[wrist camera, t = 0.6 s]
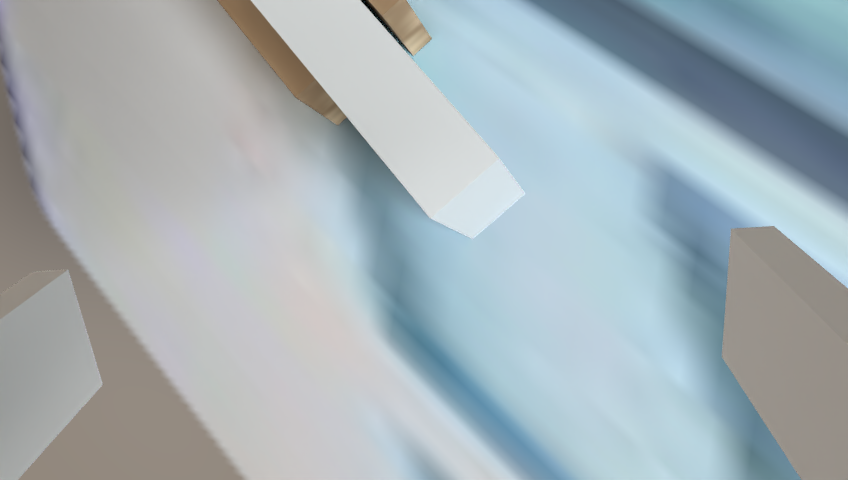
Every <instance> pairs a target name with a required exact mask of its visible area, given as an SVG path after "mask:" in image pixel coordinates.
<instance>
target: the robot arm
mask: <svg viewBox="0 0 848 480" xmlns="http://www.w3.org/2000/svg"><path fill="white" fill-rule="evenodd" d="M722 358H723V359H724V361H725V362H726V364H727V365H728V367H729V368H730V370H731V372H732V373H733V375H734V376H735V378H736V379H737V381H738V382H739V384H740V385H741V387H742V389H743V390H744V392H745V393H746V395H747V396H748V398H749V399H750V401H751V402H752V404H753V405H754V407H755V409H756V410H757V412H758V413H759V415H760V416H761V418H762V419H763V421H764V422H765V424H766V426H767V427H768V429H769V430H770V432H771V433H772V435H773V436H774V438H775V439H776V441H777V443H778V444H779V446H780V447H781V449H782V450H783V452H784V453H785V455H786V456H787V458H788V459H789V461H790V463H791V464H792V466H793V467H794V469H795V470H796V472H797V473H798V475H799V476H800V478H801V480H848V288H846V287H845V286H844V285H843V284H842V283H841V282H839V281H838V280H837V279H836V278H835V277H833V276H832V275H831V274H830V273H829V272H827V271H826V270H825V269H824V268H823V267H822V266H820V265H819V264H818V263H817V262H816V261H814V260H813V259H812V258H811V257H810V256H809V255H807V254H806V253H805V252H804V251H803V250H801V249H800V248H799V247H798V246H797V245H795V244H794V243H793V242H792V241H791V240H790V239H788V238H787V237H786V236H785V235H784V234H782V233H781V232H780V231H779V230H778V229H777V228H775V227H774V226H768V227H752V228H736V229H731V238H730V252H729V266H728V280H727V294H726V308H725V322H724V335H723V349H722ZM101 386H102V380H101V377H100V374H99V370H98V367H97V364H96V360H95V357H94V354H93V350H92V347H91V344H90V341H89V337H88V334H87V330H86V327H85V324H84V320H83V317H82V314H81V311H80V308H79V304H78V301H77V297H76V294H75V291H74V287H73V284H72V281H71V277H70V274H69V271H68V270H51V271H35V272H32V273H30V274H29V275H27V276H26V277H24V278H23V279H22V280H20V281H19V282H17V283H16V284H15V285H13V286H11V287H10V288H8V289H7V290H5V291H4V292H2V293H1V294H0V480H18V479H19V478H20V477H21V475H22V474H23V473H24V472H25V471H26V470H27V469H28V468H29V466H30V465H31V464H32V463H33V462H34V461H35V460H36V459H37V457H38V456H39V455H40V454H41V453H42V452H43V451H44V450H45V449H46V447H47V446H48V445H49V444H50V443H51V442H52V441H53V440H54V438H55V437H56V436H57V435H58V434H59V433H60V432H61V431H62V430H63V428H64V427H65V426H66V425H67V424H68V423H69V422H70V421H71V420H72V418H73V417H74V416H75V415H76V414H77V413H78V412H79V411H80V409H81V408H82V407H83V406H84V405H85V404H86V403H87V402H88V401H89V399H90V398H91V397H92V396H93V395H94V394H95V393H96V392H97V390H98V389H99V388H100V387H101Z"/></svg>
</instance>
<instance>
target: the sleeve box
mask: <svg viewBox="0 0 848 480" xmlns="http://www.w3.org/2000/svg"><path fill="white" fill-rule="evenodd" d="M217 1H218V2H219V3H220V4H221V6H222V7H223V8H224V9H225V11H226V12H227V13H228V14H229V16H230V17H231V18H232V19H233V20H234V22H235V23H236V24H237V25H238V27H239V28H240V29H241V30H242V32H243V33H244V34H245V35H246V37H247V38H248V39H249V40H250V42H251V43H252V44H253V45H254V46H255V48H256V49H257V50H258V51H259V53H260V54H261V55H262V56H263V58H264V59H265V60H266V61H267V63H268V64H269V65H270V66H271V67H272V69H273V70H274V71H275V72H276V74H277V75H278V76H279V77H280V79H281V80H282V81H283V82H284V84H285V85H286V86H287V87H288V89H289V90H290V91H291V92H292V93H293V95H294V96H295V97H296V98H297V99H299V100H300V101H302V102H303V103H305V104H306V105H308V106H309V107H311V108H312V109H314V110H315V111H317V112H318V113H320V114H321V115H323V116H324V117H326V118H327V119H329V120H330V121H332V122H333V123H335V124H336V125H339V124H340V123H341V122H342V121H343V120H345V119H346V118H347V117H346V115H345V114H344V113H343V112H342V111H341V109H340V108H339V107H338V106H337V104H336V103H335V102H334V101H333V100H332V98H331V97H330V96H329V95H328V94H327V92H326V91H325V90H324V89H323V87H322V86H321V85H320V84H319V83H318V81H317V80H316V79H315V78H314V77H313V75H312V74H311V73H310V72H309V70H308V69H307V68H306V67H305V66H304V64H303V63H302V62H301V61H300V60H299V58H298V57H297V56H296V55H295V53H294V52H293V51H292V50H291V49H290V47H289V46H288V45H287V44H286V43H285V41H284V40H283V39H282V38H281V36H280V35H279V34H278V33H277V32H276V30H275V29H274V28H273V27H272V26H271V24H270V23H269V22H268V21H267V19H266V18H265V17H264V16H263V15H262V13H261V12H260V11H259V10H258V9H257V7H256V6H255V5H254V4H253V2H252V1H251V0H217ZM365 2H366V3H367V4H368V5H369V6H370V7H371V8H372V9H373V11H374V12H375V13H376V14H377V15H378V16H379V17H380V19H381V20H382V21H383V22H384V23H385V24H386V25H387V26H388V28H389V29H390V30H391V31H392V32H393V33H394V34H395V36H396V37H397V38H398V39H399V40H400V41H401V42H402V43H403V45H404V46H405V47H406V48H407V49H408V50H409V51H410V53H411V54H412V55H413V56H414V55H415V54H416V53H417V52H418V51H419V50H420V49H421V48H422V47H424V46H425V45H426V44H427V43H428V42H429V41H430V40H431V39H432V38H431V37H430V35H429V34H428V32H427V31H426V29H425V28H424V26H423V25H422V23H421V22H420V20H419V19H418V17H417V16H416V14H415V13H414V11H413V10H412V8H411V7H410V5H409V4H408V2H407V1H406V0H365Z"/></svg>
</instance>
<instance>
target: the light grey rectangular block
mask: <svg viewBox="0 0 848 480" xmlns="http://www.w3.org/2000/svg"><path fill="white" fill-rule="evenodd" d="M251 1H252V2H253V4H254V5H255V6H256V7H257V9H258V10H259V11H260V12H261V13H262V15H263V16H264V17H265V18H266V19H267V21H268V22H269V23H270V24H271V26H272V27H273V28H274V29H275V30H276V32H277V33H278V34H279V35H280V36H281V38H282V39H283V40H284V41H285V43H286V44H287V45H288V46H289V47H290V49H291V50H292V51H293V52H294V53H295V55H296V56H297V57H298V58H299V60H300V61H301V62H302V63H303V64H304V66H305V67H306V68H307V69H308V70H309V72H310V73H311V74H312V75H313V77H314V78H315V79H316V80H317V81H318V83H319V84H320V85H321V86H322V87H323V89H324V90H325V91H326V92H327V94H328V95H329V96H330V97H331V98H332V100H333V101H334V102H335V103H336V104H337V106H338V107H339V108H340V109H341V111H342V112H343V113H344V114H345V115H346V117H347V118H348V119H349V120H350V121H351V123H352V124H353V125H354V126H355V128H356V129H357V130H358V131H359V132H360V134H361V135H362V136H363V137H364V138H365V140H366V141H367V142H368V143H369V145H370V146H371V147H372V148H373V149H374V151H375V152H376V153H377V154H378V155H379V157H380V158H381V159H382V160H383V162H384V163H385V164H386V165H387V166H388V168H389V169H390V170H391V171H392V172H393V174H394V175H395V176H396V177H397V179H398V180H399V181H400V182H401V183H402V185H403V186H404V187H405V188H406V189H407V191H408V192H409V193H410V194H411V196H412V197H413V198H414V199H415V200H416V202H417V203H418V204H419V205H420V206H421V208H422V209H423V210H424V211H425V213H426V214H427V215H428V216H429V217H430V219H432V220H434V221H437V222H439V223H441V224H443V225H445V226H447V227H449V228H451V229H453V230H455V231H457V232H459V233H461V234H463V235H465V236H467V237H469V238H471V239H473V238H475V237H476V236H477V235H478V234H479V233H480V232H482V231H483V230H484V229H485V228H486V227H487V226H489V225H490V224H491V223H492V222H493V221H494V220H496V219H497V218H498V217H499V216H500V215H501V214H503V213H504V212H505V211H506V210H507V209H508V208H510V207H511V206H512V205H513V204H514V203H515V202H517V201H518V200H519V199H520V198H521V197H522V196H524V195H525V192H524V191H523V190H522V188H521V187H520V186H519V184H518V183H517V181H516V180H515V179H514V177H513V176H512V175H511V173H510V172H509V171H508V169H507V168H506V167H505V165H504V164H503V163H502V161H501V160H500V158H499V157H498V156H497V155H496V154H495V153H494V152H493V150H492V149H491V148H490V147H489V146H488V145H487V144H486V143H485V141H484V140H483V139H482V138H481V137H480V136H479V135H478V133H477V132H476V131H475V130H474V129H473V128H472V127H471V125H470V124H469V123H468V122H467V121H466V120H465V119H464V118H463V116H462V115H461V114H460V113H459V112H458V111H457V110H456V108H455V107H454V106H453V105H452V104H451V103H450V102H449V100H448V99H447V98H446V97H445V96H444V95H443V94H442V92H441V91H440V90H439V89H438V88H437V87H436V86H435V85H434V83H433V82H432V81H431V80H430V79H429V78H428V77H427V75H426V74H425V73H424V72H423V71H422V70H421V69H420V67H419V66H418V65H417V64H416V63H415V62H414V61H413V60H412V58H411V57H410V56H409V55H408V54H407V53H406V52H405V50H404V49H403V48H402V47H401V46H400V45H399V44H398V42H397V41H396V40H395V39H394V38H393V37H392V36H391V34H390V33H389V32H388V31H387V30H386V29H385V28H384V27H383V25H382V24H381V23H380V22H379V21H378V20H377V19H376V17H375V16H374V15H373V14H372V13H371V12H370V11H369V9H368V8H367V7H366V6H365V5H364V4H363V3H362V2H361V0H251Z"/></svg>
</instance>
